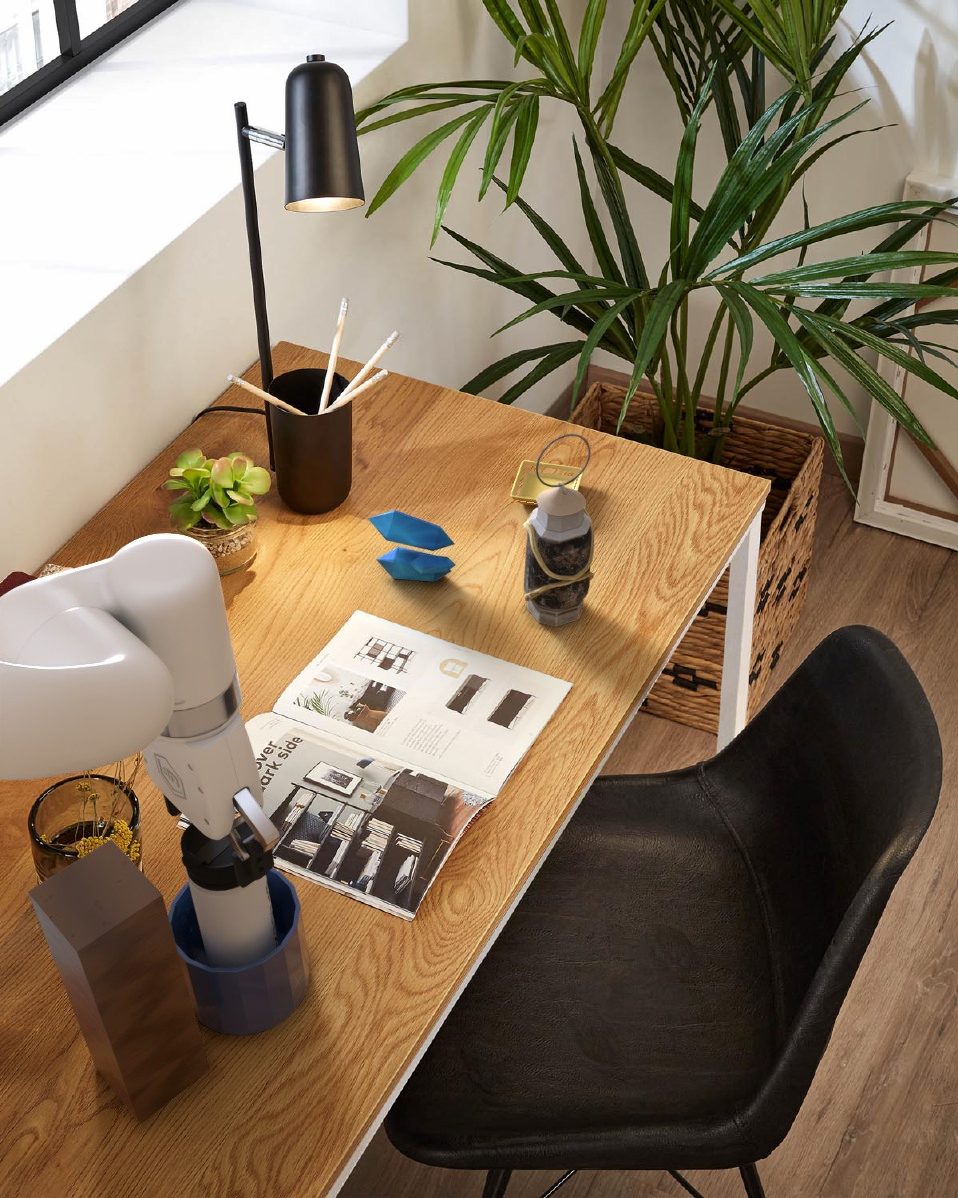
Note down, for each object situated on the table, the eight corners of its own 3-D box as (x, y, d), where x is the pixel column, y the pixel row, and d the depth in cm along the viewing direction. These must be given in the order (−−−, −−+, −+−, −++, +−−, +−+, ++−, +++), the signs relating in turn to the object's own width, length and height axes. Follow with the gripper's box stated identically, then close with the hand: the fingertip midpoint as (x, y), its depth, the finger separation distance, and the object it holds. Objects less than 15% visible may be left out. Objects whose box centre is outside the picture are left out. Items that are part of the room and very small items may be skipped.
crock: (232, 1060, 109) (216, 997, 103) (160, 977, 116) (141, 912, 109) (334, 981, 115) (325, 916, 109) (261, 906, 121) (248, 840, 115)
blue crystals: (459, 554, 151) (362, 525, 150) (444, 605, 157) (350, 578, 156) (470, 516, 156) (376, 488, 156) (455, 567, 162) (364, 541, 162)
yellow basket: (584, 480, 174) (584, 467, 172) (573, 517, 167) (573, 504, 166) (522, 471, 175) (522, 459, 174) (508, 508, 169) (509, 495, 168)
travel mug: (195, 984, 114) (159, 845, 101) (246, 933, 118) (217, 792, 105) (247, 1020, 112) (216, 882, 98) (297, 966, 116) (273, 827, 103)
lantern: (571, 579, 158) (582, 407, 141) (603, 618, 152) (619, 444, 136) (508, 599, 155) (512, 426, 139) (539, 639, 150) (547, 464, 133)
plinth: (139, 1124, 105) (76, 951, 89) (95, 1067, 109) (27, 891, 93) (210, 1070, 109) (162, 894, 92) (164, 1016, 113) (111, 838, 96)
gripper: (78, 656, 94) (122, 804, 105) (212, 786, 84) (245, 934, 96) (164, 609, 98) (198, 757, 109) (302, 728, 88) (324, 877, 100)
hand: (220, 839), depth 102 cm, fingers open, 9 cm apart
